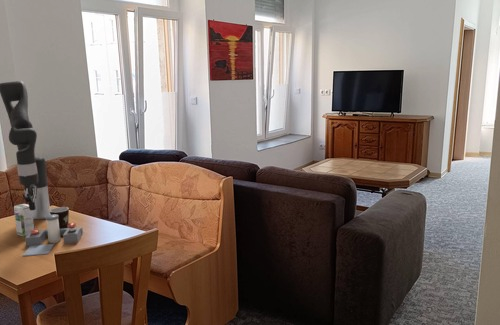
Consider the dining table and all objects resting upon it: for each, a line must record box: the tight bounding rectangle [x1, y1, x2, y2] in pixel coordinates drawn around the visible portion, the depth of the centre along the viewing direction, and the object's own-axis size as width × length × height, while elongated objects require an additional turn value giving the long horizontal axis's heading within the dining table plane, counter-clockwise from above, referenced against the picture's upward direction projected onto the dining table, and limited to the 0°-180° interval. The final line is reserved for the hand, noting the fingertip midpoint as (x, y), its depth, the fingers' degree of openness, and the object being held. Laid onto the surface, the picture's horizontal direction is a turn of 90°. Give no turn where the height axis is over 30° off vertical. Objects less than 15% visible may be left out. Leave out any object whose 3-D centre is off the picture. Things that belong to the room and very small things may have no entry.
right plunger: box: [67, 222, 77, 233], centre depth 184 cm, size 4×4×4 cm
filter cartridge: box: [44, 214, 62, 244], centre depth 182 cm, size 5×5×12 cm
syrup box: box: [13, 203, 35, 238], centre depth 190 cm, size 6×6×14 cm
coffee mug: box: [50, 206, 70, 229], centre depth 196 cm, size 12×9×10 cm
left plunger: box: [30, 228, 40, 236], centre depth 181 cm, size 4×4×4 cm
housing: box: [24, 226, 84, 247], centre depth 184 cm, size 12×22×4 cm, turn 102°
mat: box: [22, 243, 55, 257], centre depth 173 cm, size 10×10×1 cm
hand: (32, 209), depth 178 cm, fingers closed
